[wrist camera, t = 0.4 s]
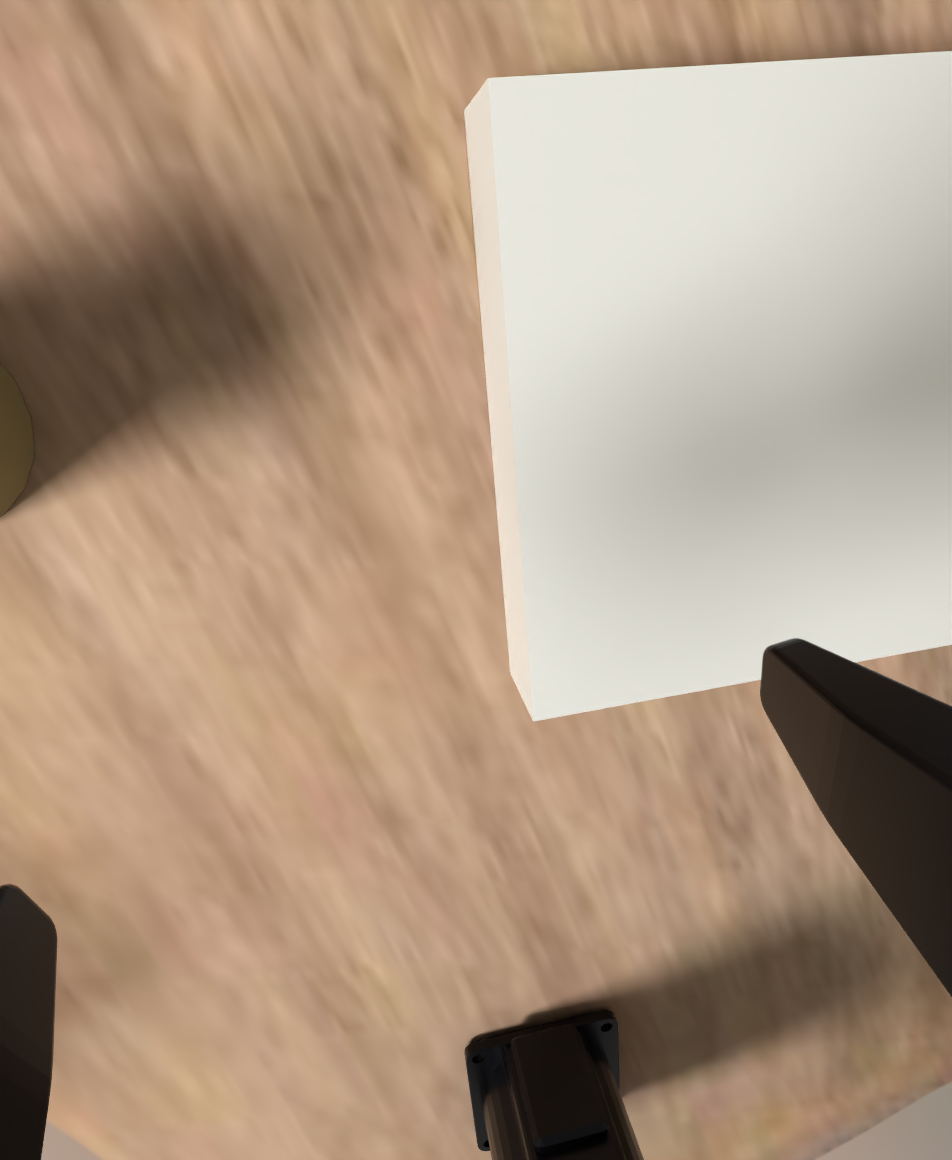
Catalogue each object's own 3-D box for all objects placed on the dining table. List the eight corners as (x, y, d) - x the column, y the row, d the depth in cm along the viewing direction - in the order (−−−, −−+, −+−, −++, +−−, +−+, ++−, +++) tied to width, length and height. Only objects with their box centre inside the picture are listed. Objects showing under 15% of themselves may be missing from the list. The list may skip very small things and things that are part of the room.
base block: (940, 598, 26) (1011, 633, 24) (510, 672, 24) (533, 721, 21) (1028, 74, 20) (1137, 40, 18) (464, 110, 18) (488, 78, 15)
